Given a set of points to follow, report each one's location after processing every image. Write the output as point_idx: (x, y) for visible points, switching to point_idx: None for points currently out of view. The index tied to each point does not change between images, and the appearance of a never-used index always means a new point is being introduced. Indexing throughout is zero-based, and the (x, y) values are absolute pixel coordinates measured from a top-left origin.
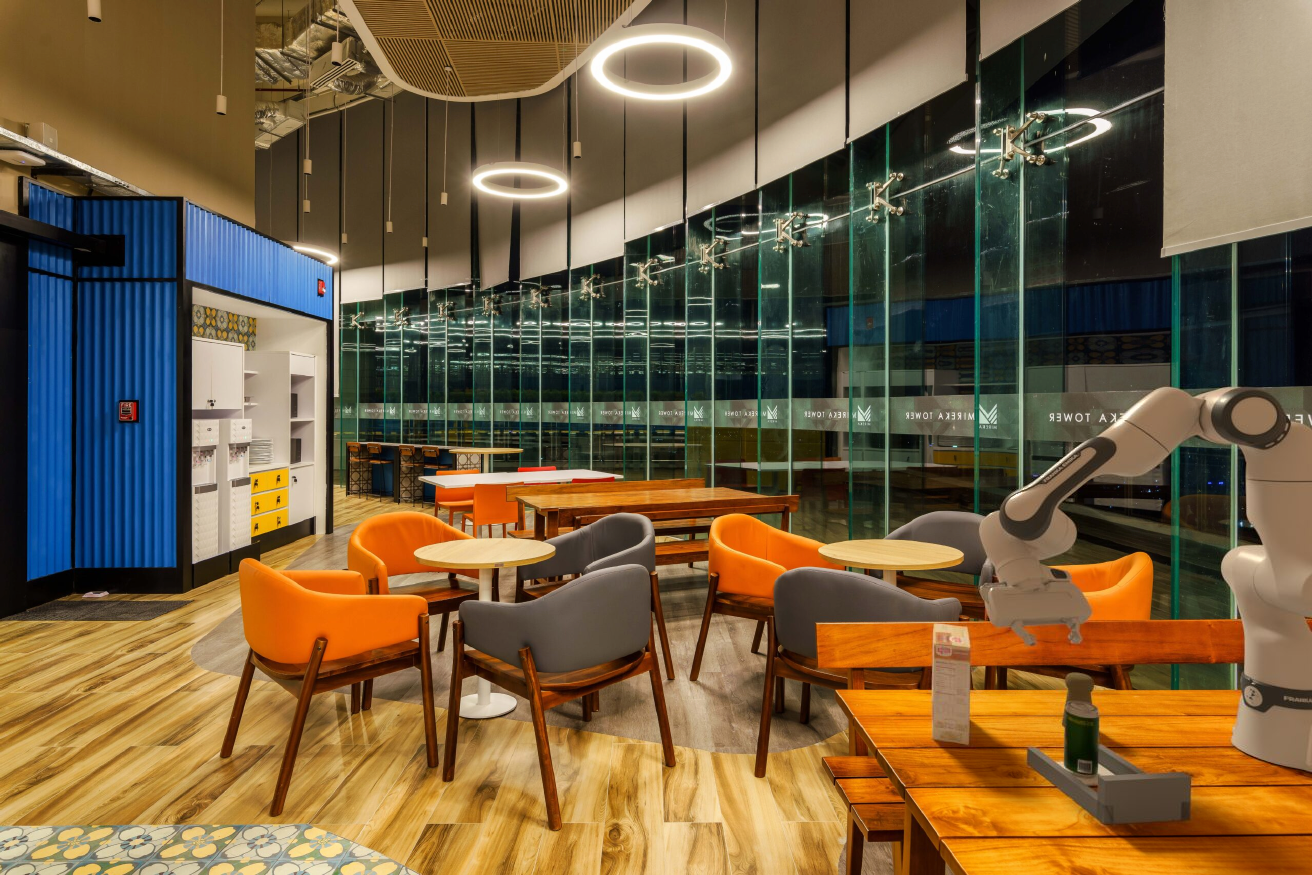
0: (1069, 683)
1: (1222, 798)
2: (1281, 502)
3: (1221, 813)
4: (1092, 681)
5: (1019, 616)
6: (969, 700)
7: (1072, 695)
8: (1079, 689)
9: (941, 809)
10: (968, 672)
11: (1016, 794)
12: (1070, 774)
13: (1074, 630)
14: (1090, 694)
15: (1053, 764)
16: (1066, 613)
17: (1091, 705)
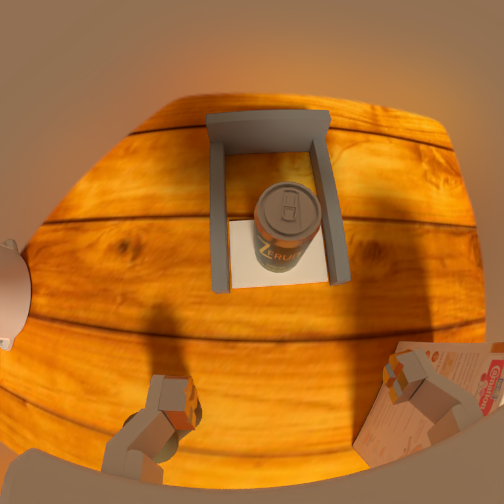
0: (176, 436)
1: (136, 189)
2: None
3: (167, 160)
4: (128, 420)
5: (485, 426)
6: (439, 344)
7: None
8: None
9: (455, 185)
10: (478, 343)
11: (387, 203)
12: (326, 194)
13: (158, 425)
14: None
15: (337, 222)
16: (162, 500)
17: (261, 218)
